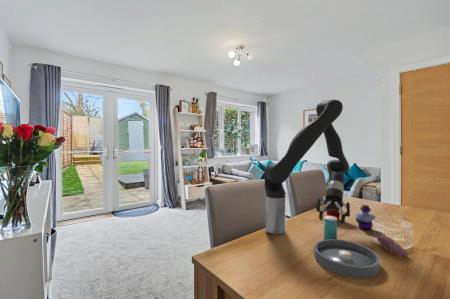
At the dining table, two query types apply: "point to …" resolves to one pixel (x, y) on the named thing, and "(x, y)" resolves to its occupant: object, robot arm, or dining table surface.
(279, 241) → the dining table surface
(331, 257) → the groove tray
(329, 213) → the plastic cup
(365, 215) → the potion bottle
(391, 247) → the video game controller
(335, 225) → the bead jar
